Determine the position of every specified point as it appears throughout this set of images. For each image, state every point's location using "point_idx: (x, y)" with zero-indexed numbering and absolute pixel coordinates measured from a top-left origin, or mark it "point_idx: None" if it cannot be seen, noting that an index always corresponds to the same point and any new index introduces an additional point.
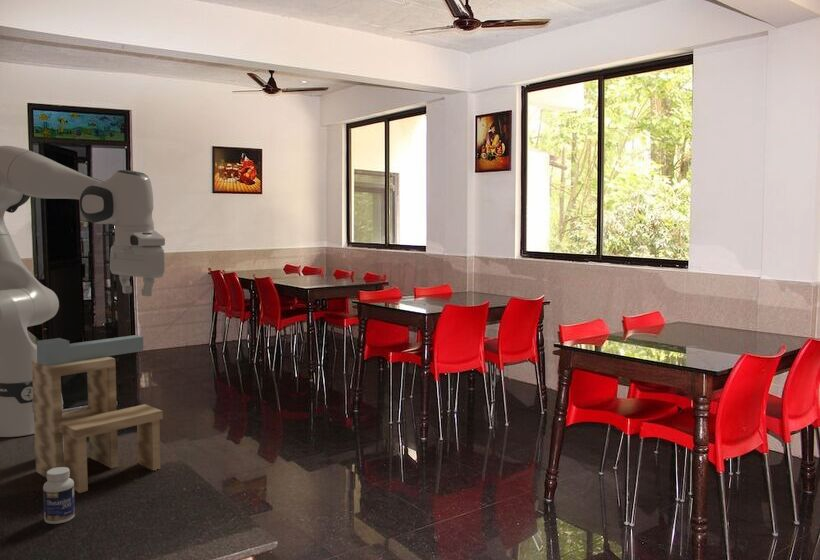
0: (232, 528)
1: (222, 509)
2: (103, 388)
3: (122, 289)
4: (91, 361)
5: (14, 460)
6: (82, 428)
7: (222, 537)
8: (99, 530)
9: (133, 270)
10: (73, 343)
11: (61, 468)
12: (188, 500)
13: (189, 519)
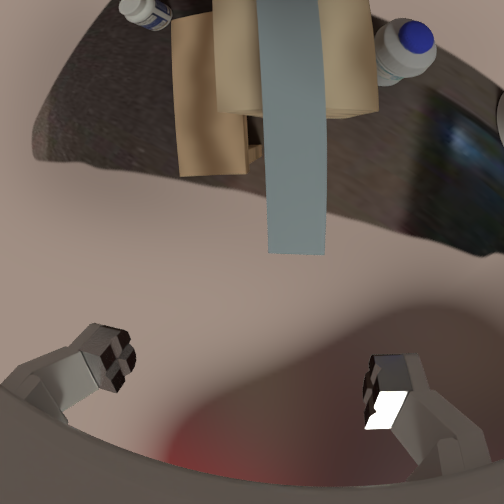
0: (53, 146)
1: (81, 156)
2: None
3: (420, 367)
4: (225, 43)
5: None
6: (172, 30)
7: (47, 132)
8: (110, 46)
9: (51, 475)
10: (313, 4)
11: (133, 6)
12: (113, 139)
13: (81, 122)
